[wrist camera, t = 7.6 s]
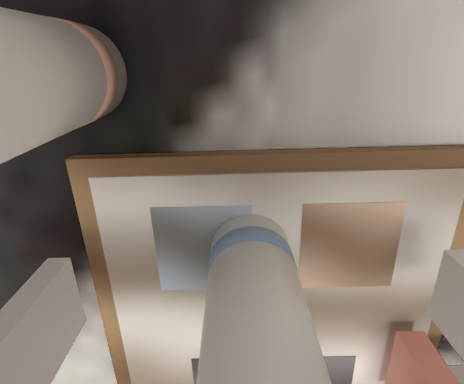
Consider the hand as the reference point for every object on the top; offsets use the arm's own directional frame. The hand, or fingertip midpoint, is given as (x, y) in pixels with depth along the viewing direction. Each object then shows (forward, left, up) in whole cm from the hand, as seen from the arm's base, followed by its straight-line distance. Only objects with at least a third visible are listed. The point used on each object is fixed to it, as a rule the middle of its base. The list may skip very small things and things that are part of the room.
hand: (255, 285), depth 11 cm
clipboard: (+2, +1, -3) cm, 4 cm away
